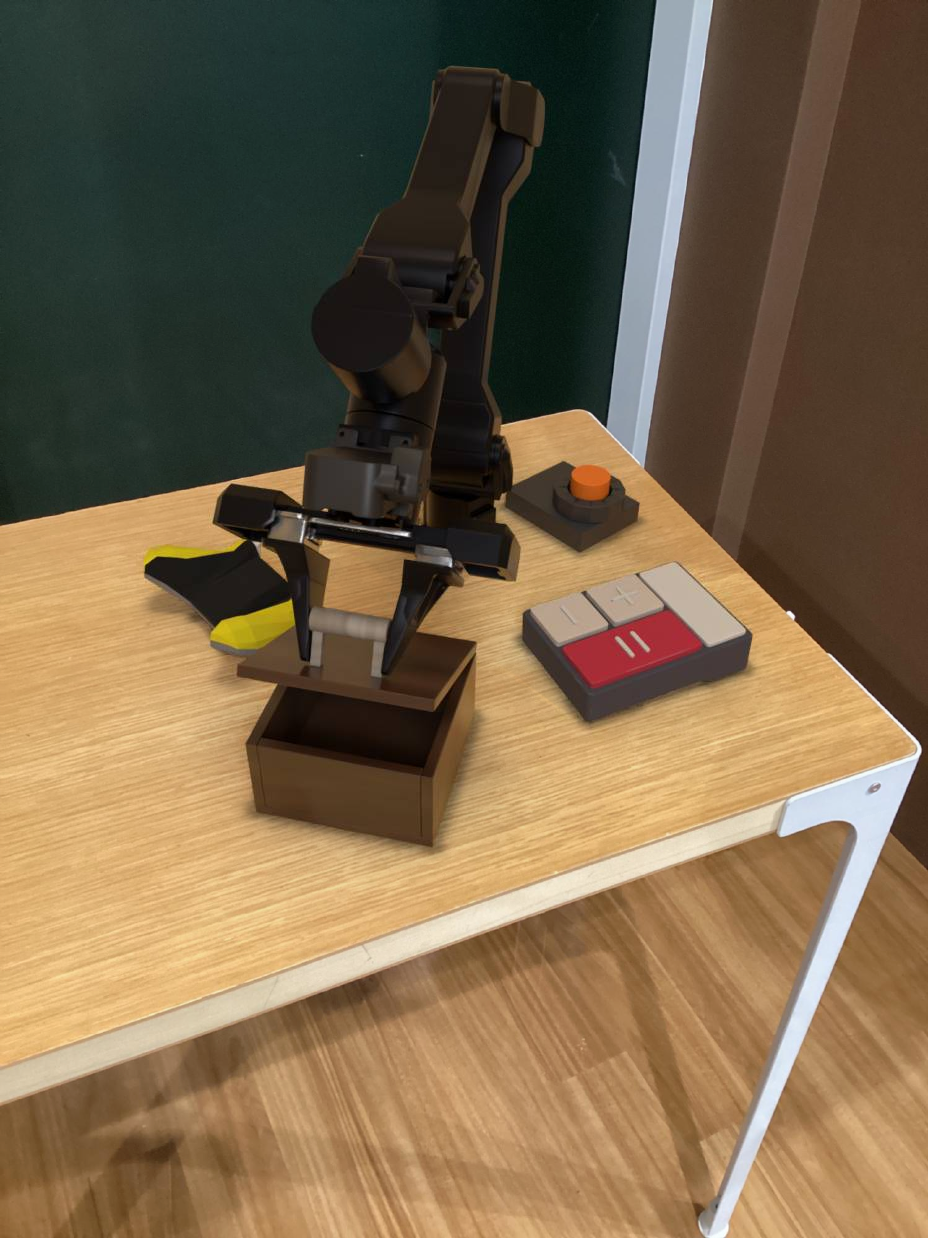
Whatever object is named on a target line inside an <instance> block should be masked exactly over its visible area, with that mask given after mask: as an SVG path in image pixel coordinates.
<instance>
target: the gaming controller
mask: <svg viewBox="0 0 928 1238" xmlns="http://www.w3.org/2000/svg"><path fill="white" fill-rule="evenodd" d="M261 550H262V543H260V542H253V541H249V540H245V539H240V540H238V541H236V542H234V543H233V544H232V545H230V546H227V547H226V548H224V549H208V548H198V547H191V546H182V545H181V546H180V545H172V544H163V545H158V546H155V547H150V548H148V550H147V551H146V553H145V554H144V556H143V558H142V559H143V560H142V561H143V568H142V571H143V576H144V579H146V580H147V581H149V582H151V583H152V584H154V585H156V587H159V588H161V589H162V590H164V591H165V592H167V593H169V594H170V595H172V596H174V597H175V598H177V599H179V600H180V601H182V602H183V603H184V604H186V605H188V606H189V607H190V608H191V609H192V610H194V611H195V612H196V614H197V615H199V617H200V618H202V620H204V622H205V623H206V624H208V625H209V627H211V629H212V630H211V632H210V637H209V643H210V647H211V648H212V649H214V650H216V651H218V652H221V653H223V654H226V655H228V656H230V657H237V658H246V659H247V658H248V657H250V656H251V655H252V654H254V653H255V652H257V651H258V650H260V649H261V648H262V647H264V646H265V645H267V644H268V643H270V642H271V641H272V640H274V639H275V638H277V637H278V636H280V635H281V634H282V633H284V632H285V631H287V630H288V629H290V628H291V627H292V626H294V625H295V619H294V612H293V605H292V599H291V593H290V589H289V585H288V581H287V579H285V578H284V577H283V575H281V574H280V573H279V572H277V570H275V569H274V568H273V567H272V566H271V565H270V564H269V562H267V561H266V560H264V559H263V558H262V557H261V552H262V551H261Z"/></svg>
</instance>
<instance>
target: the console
mask: <svg viewBox="0 0 928 1238" xmlns="http://www.w3.org/2000/svg"><path fill="white" fill-rule="evenodd" d="M575 468H577V466H574V465H572V464H571V463H569V462H567V461H565V460H562V461H560V462H558V463H556V464H554V465H552V466H550V467H548V468H546V469H544V470H541V471H539V472H537V473H535V474H533V475H531V476H529V477H526V478H525V479H523V480H521V481H519V482H516V483H514V484H513V486H512V490H511V491H508V492H506V493H505V504H504V507H505V508H506V509H508V510H509V511H511V512H513V513H515V514H516V515H517V516H519V517H521V518H522V519H524V520H525V521H527V522H528V523H530V524H532V525H534V526H535V527H537V528H538V529H540V530H542V531H544V532H545V533H547V534H548V535H550V536H552V537H554V538H555V539H556V540H558V541H560V542H561V543H563V544H564V545H567V546H568V547H570V548H571V549H573V550H574V551H576V552H578V553H582V552H584V551H586V550H588V549H590V548H591V547H593V546H595V545H596V544H597V545H598V543H600V542H603V541H604V540H607V538H610V537H611V536H613V535H615V534H617V533H619V532H621V531H622V530H624V529H626V528H627V527H630V526H631V525H633V524H635V523H637V522H638V518H639V510H640V506H641V505H640V504H641V503H640V502H639V501H638V500H636V499H634V498H632V497H630V496H629V495H627V494H626V492H627V490H626V488H625V486H624V484H623V483H622V481H621V480H620V479H619V478H618V477H615V476H613V475H612V474H610V476H611V479H610V487H609V494H608V496H607V497H606V498H604V499H602V500H594V501H589V500H584V499H579V498H577V497H575V496H574V495H572V493H571V491H570V485H571V474H572V471H573V470H574V469H575Z"/></svg>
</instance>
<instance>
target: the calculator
mask: <svg viewBox="0 0 928 1238" xmlns="http://www.w3.org/2000/svg"><path fill="white" fill-rule="evenodd" d="M521 621H522V627H521V628H522V629H521V630H522V631H521V632H522V633H521V634H522V637H521V638H522V642H523V643H524V644H525V645H526V646H527V648H528V649H529V650H530V652H531V653H532V654H533V655H534V657H535V658H536V659H537V661H538V662H539V663H540V664H541V666H542V667H543V668H544V670H545V671H546V672H547V673H548V675H549V676H550V677H551V678H552V680H553V681H554V682H555V683H556V686H558V688H559V689H560V690H561V691H562V692H563V694H564V695H565V696H566V697H567V699H568V700H569V702H570V703H571V705H573V707H574V708H575V709H576V710H577V712H578V713H579V714H580V716H581V717H582V718H583V719H584V720H585V721H586V722H594V721H597V720H599V719H602V718H605V717H607V716H610V715H613V714H615V713H618V712H621V711H624V710H626V709H628V708H631V707H633V706H636V705H639V704H642V703H644V702H647V701H649V700H652V699H655V698H658V697H660V696H663V695H667V694H668V693H672V692H674V691H677V690H679V689H682V688H684V687H687V686H690V685H692V684H695V683H698V682H701V681H703V682H709V683H711V682H714V681H717V680H719V679H721V678H725V677H727V676H730V675H732V674H735V673H738V672H741V671H744V670H746V668H747V666H748V663H749V657H750V652H751V647H752V643H753V642H752V641H753V636H754V635H753V632H751V631H750V629H748V628H747V627H746V625H744V623H742V622H741V621H740V619H738V618H737V617H736V616H735V615H734V614H733V613H732V612H731V611H730V610H729V609H728V608H727V607H725V605H724V604H722V603H721V602H720V601H719V599H717V598H716V597H715V596H714V595H713V594H712V593H711V592H710V591H709V590H708V589H707V588H705V586H703V584H702V583H700V581H698V580H697V578H695V577H694V576H693V575H692V574H691V573H690V572H689V571H688V570H687V569H686V568H685V567H684V566H683V565H682V564H680V563H679V562H678V561H670V562H667V563H664V564H661V565H658V566H655V567H652V568H649V569H646V570H643V571H639V572H637V573H632V574H628V575H625V576H621V577H619V578H615V579H613V580H610V581H609V580H608V581H606V582H603V583H600V584H597V585H595V586H594V585H593V586H591V587H589V588H587V589H585V590H583V591H577V592H573V593H571V594H567V595H564V596H561V597H558V598H555V599H553V600H549V601H546V602H543V603H540V604H537V605H533V606H532V607H530V608H528V609H526V610H524V611H522V620H521Z"/></svg>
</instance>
